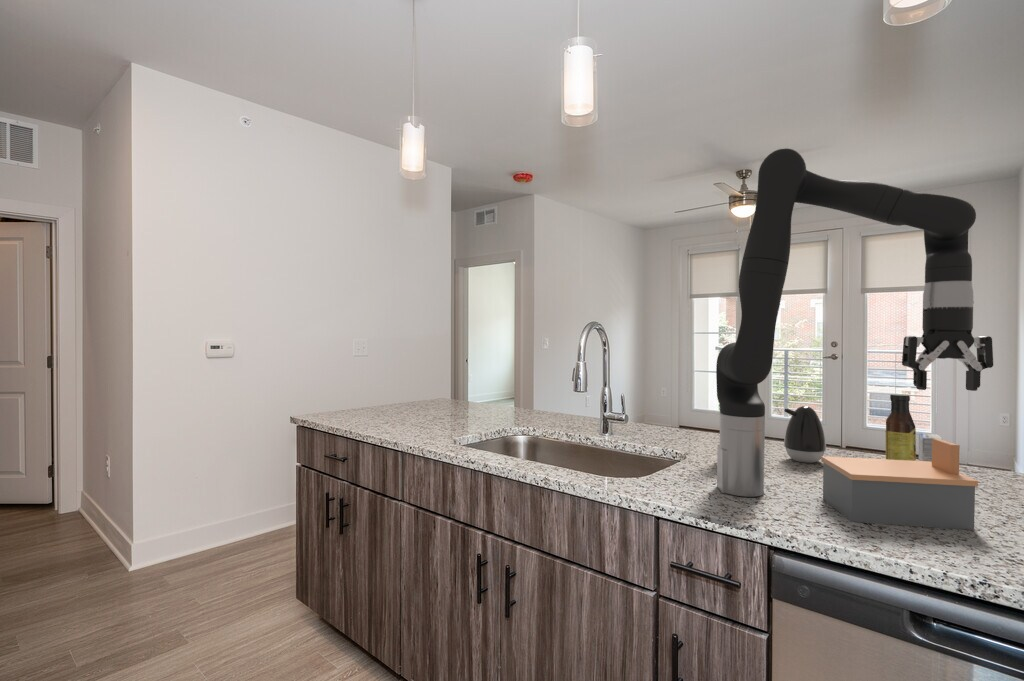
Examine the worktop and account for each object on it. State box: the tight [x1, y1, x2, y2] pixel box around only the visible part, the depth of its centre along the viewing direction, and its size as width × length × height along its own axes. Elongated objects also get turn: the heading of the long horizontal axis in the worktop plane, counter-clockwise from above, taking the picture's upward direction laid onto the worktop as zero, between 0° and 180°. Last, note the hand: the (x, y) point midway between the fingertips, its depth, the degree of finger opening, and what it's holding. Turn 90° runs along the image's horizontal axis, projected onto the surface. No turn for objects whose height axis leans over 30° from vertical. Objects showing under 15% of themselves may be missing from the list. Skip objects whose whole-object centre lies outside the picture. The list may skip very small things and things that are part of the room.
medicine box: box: [918, 432, 944, 462], centre depth 139 cm, size 8×4×9 cm, turn 148°
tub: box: [822, 462, 976, 531], centre depth 104 cm, size 20×14×8 cm
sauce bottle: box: [885, 393, 917, 461], centre depth 135 cm, size 7×6×20 cm
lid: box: [820, 438, 979, 487], centre depth 104 cm, size 21×15×7 cm
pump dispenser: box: [783, 405, 827, 464], centre depth 146 cm, size 10×10×15 cm
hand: (946, 389), depth 102 cm, fingers open, 8 cm apart
